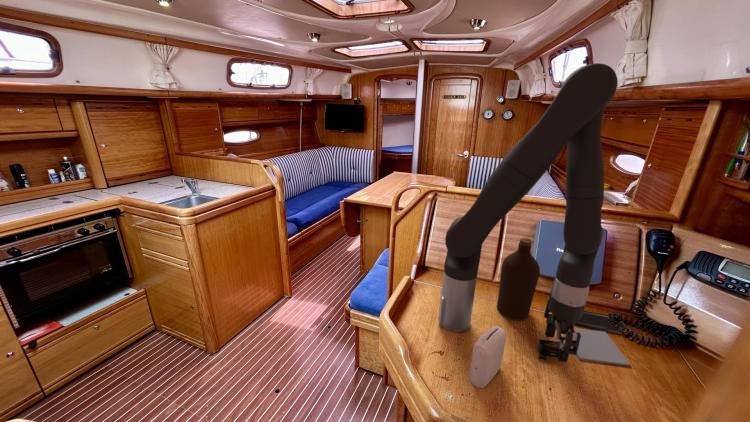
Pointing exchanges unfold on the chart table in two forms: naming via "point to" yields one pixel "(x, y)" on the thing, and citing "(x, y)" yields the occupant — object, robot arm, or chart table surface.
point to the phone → (598, 322)
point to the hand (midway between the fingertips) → (555, 348)
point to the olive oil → (518, 282)
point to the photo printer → (487, 356)
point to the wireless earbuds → (547, 349)
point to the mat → (599, 348)
